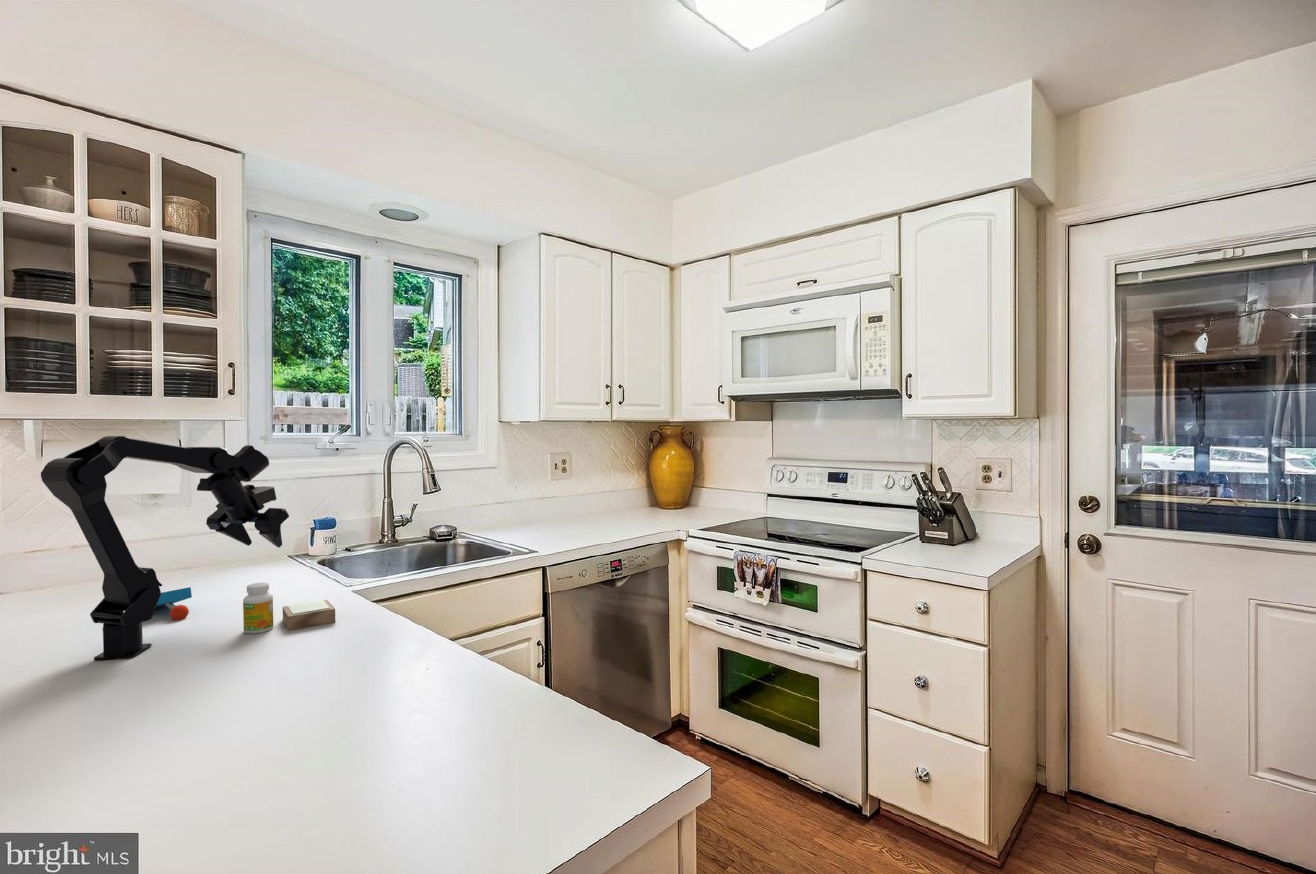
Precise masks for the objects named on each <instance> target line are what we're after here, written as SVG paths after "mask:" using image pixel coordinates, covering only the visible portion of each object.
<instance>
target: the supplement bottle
mask: <svg viewBox="0 0 1316 874" xmlns="http://www.w3.org/2000/svg"><path fill="white" fill-rule="evenodd" d="M269 590H270V584H269V582H254V583H251V584H248V585H246V593H247V595H245V596H244V598H243V600H242V614H243V616H242V617H243V620H242V621H243V622H242V623H243V627H242V628H243V633H246V634H250V635H252V634H253V635H254V634H262V633H266V632H268V631H270V630H272V629H273V628H274V598H273V597H274V596H273V594H272V593H270V592H269Z"/></svg>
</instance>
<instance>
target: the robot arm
mask: <svg viewBox="0 0 1316 874" xmlns="http://www.w3.org/2000/svg"><path fill="white" fill-rule="evenodd" d="M124 459H129V460H130V459H132V460H137V461H138V460H139V461H147V462H153V463H160V464H161V463H163V464H167V465H168V464H170V465H172V466H177V467H178V468H180V469H183V470H185V471H188V472H191V473H196V474H210V475H209V476H208V477H207V478H203V477H202V478H200V479H199V483H198V484H197V487H196V491H198V492H211V494H212V495H213V496H214V498H215V499H216V501H217V502H218V503H217V504H216V505H215V508H217V509H216V510H215V511H214V512H213V513H211V514H210V515H209V516H208V517H207V518H206V522H205V525H206V526H207V527H208V528H209V530H211V531H212V530H214V531H215V532H217V533H220V534H223V535H225V536H227V537H229V538H231V539H233V540H235V541H237V542H239V543H241V544H244V545H245V546H248V547H249V546H251V544H252V543H253V542H252V539H251V537H250V535H249V533H248V531H247V529H246V528H245V526H244V524H246V523H254V528H255V529H256V531H258V534H259V535H260V536H261V537H262V538H264V539H265V540H267V541H268V542H269V543H271V545H273V546H274V547H276V548H279V549H280V548H281V546H283V537H282V532H281V531H282V529H281V528H282V527H281V526H282V524H283V523H284V522H285V521H286V520H287V519H289V517H290V515H289V513H288V511H287V509H286V508H280V507H279V508H277V507H269V508H267V509H266V510H265V511H264V512H259V511H261V510H263V509H265V505H264V504H267V503H270V502H274V501H275V502H276V501H277V499H278V498H277V495H276V490H275V486H255V485H254V484H245V485H243V483H242V482H244V483H248V482H251V481H252V480H253V479H254V478H256V477H257V476H258V475H259V474H261V472H263V471H264V470H265V469H267V468H268V467H269V465H270V460H269V458H268V456H266V455H265V454H264V453H263V452H261V451H260V450H258V449H256V448H255V447H254V446H253V445H244V446H242V447H241V448H240V449H239V450H238V451H237V452H236V453H235V454H234V455H232V454H229V453H228V450H227V449H226V448H223V447H222V446H180V445H173V444H167V443H162V442H156V441H149V440H142V439H135V438H130V437H129V436H126V435H106V436H103V437H102V438H100V439H98V440H96V441H95V442H93V443H91V444H89V445H87V446H84V447H82V448H80V449H77V450H75V451H73V452H71V453H68V454H67V455H65V456H64V457H62V458H61V457H58V458H55V459H52V460H50V461H48V463H46V464H45V465H44V467H43V468H42V470H41V472H40V478H41V481H42V483H43V484H44V485H45V487H46V488H47V489H48V490H49V492H50V493H51V494H52V495H53V497H55V498H56V499H58V500H59V501H60V502H62V503H63V504H64V505H65V506H66V507H68V508H69V509H70V510H71V512H72V514H73V517H74V518H75V520H76V522H77V524H78V525H79V526H78V527H80V530H81V532H82V534H83V536H84V538H85V539H86V541H87V543H88V545H89V548H90V549H91V552H92V553H93V555H94V557H95V559H96V561H97V563H98V565H99V567H100V569H101V571H102V573H103V581H102V585H101V587H102V588H101V591H102V592H103V593H102V594H103V598H102V600H100V602H99V603H98V604H97V605H96V606H95V607H94V608H93V609H92V611H91V612H90V614H89V616H90V617H91V620H92V622H93V623H94V624H102V645H103V647H102V650H103V651H102V652H101V653H99V654H98V655H95V656H94V657H93V660H94V661H98V660H99V661H100V660H111V659H112V660H113V659H124V658H125V659H126V658H127V659H128V658H129V659H130V658H134V657H136V656H138V655H139V654H141V653H143V652H144V651H146V650H147V649H149V648H150V647H152V643H144V641H143V638H144V637H143V622H148V621H151V620H152V619H153V615H154V612H155V609H156V608H157V607H156V604H157V602H158V600H159V598H160V597H161V593H162V591H161V588H160V587H162V586H163V583H161V582H160V581H159V580H158V578H157V574H156V571H155V569H154V568H152V567H140V566H139V565H137V564H136V562H135V560H134V557H133V556H132V553H131V552H130V550H129V547H128V545H127V544H126V542H125V539H124V537H123V535H122V533H121V531H120V528H119V527H118V525H117V523H116V521H115V519H114V516H113V515H112V513H111V511H110V508H109V507H108V505H107V504H108V503H107V502H106V499H105V497H106V493H107V487H108V484H107V481H106V476H107V475H109V474H110V473H111V472H113V471H115V469H117V467H118V466H119V465H120V464H121V462H122V461H123V460H124Z"/></svg>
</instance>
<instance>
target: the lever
mask: <svg viewBox="0 0 1316 874" xmlns="http://www.w3.org/2000/svg"><path fill="white" fill-rule="evenodd" d="M190 598H193V595H192V587H191V586H189V587H184V588H179V589H175V590H168V591H163V592H162V591H161V597H160V598H159V600H158V602H157V604H156V607H155V608H159V607H163V606H164V607H165V606H166V607H167V608H168V609H170V612H169V616H170V618H171V619H172V620H174V621H179V620H180V621H181V620H184V619H186V618H187V616H188V615H189V613H190V612H189V610H190V609H189V608H188V607H187V606H186V605H185V604H178V605H175V604H176V603H178V602H179V603H180V602H182V601H184V600H187V599H190Z"/></svg>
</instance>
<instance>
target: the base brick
mask: <svg viewBox="0 0 1316 874" xmlns="http://www.w3.org/2000/svg"><path fill="white" fill-rule="evenodd" d="M282 622H283V623H284V625H285V627H286V629H287V631H294V630H299V629H305V628H309V627H310V628H311V627H318V626H321V625H327V624H332V623H333V624H334V623H336V608H335V607H334V605H332V603H331V602H330V601H329V600H328V599H324V600H317V601H312V602H304V603H299V604H298V603H297V604H291V605H286V606H282Z"/></svg>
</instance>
